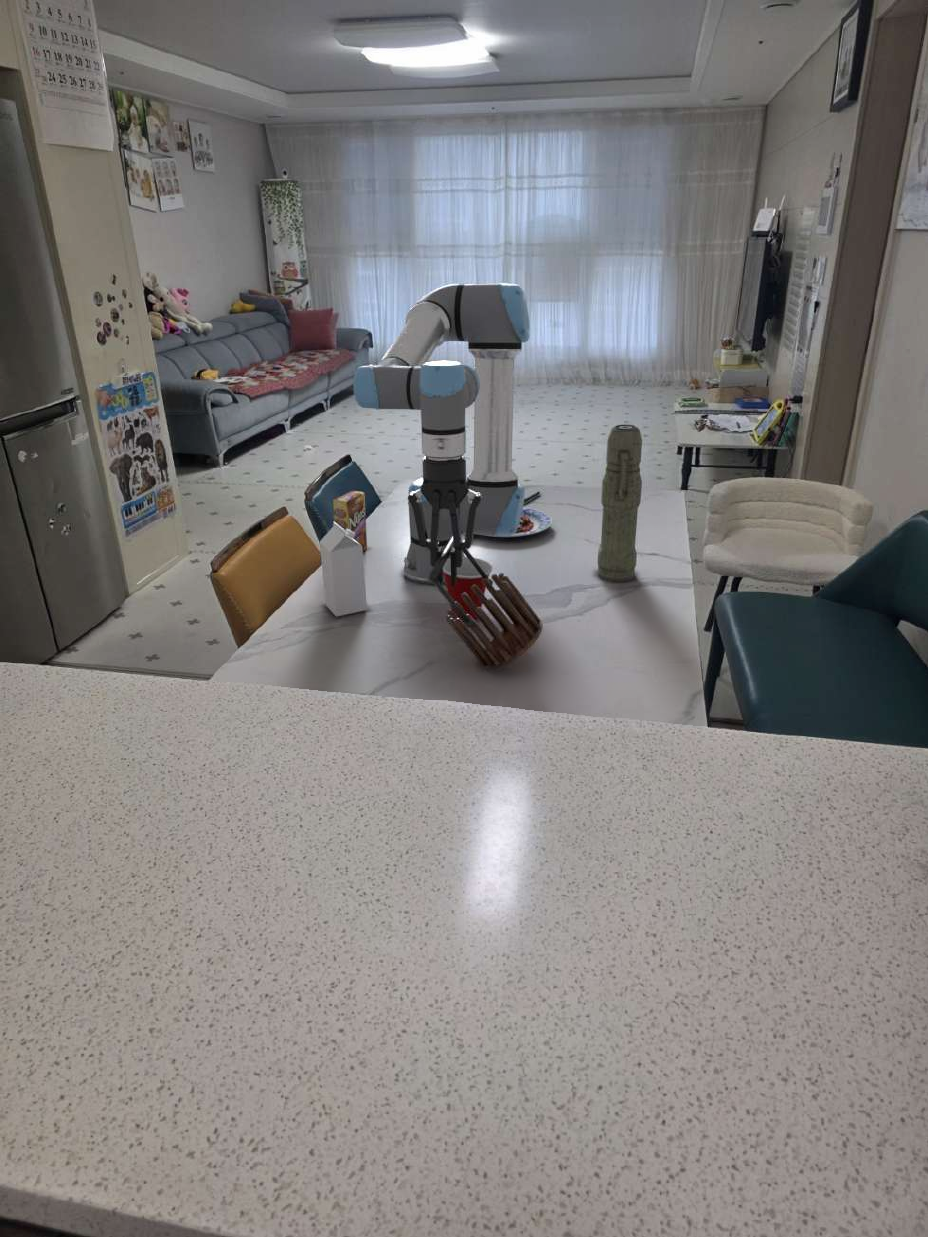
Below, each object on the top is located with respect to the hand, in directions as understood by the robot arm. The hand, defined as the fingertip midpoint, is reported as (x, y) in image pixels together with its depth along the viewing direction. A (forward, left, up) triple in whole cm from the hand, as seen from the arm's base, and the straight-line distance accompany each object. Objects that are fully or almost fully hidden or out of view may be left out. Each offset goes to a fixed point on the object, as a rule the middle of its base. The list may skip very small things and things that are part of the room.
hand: (447, 582), depth 151 cm
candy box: (-57, -32, -16) cm, 67 cm away
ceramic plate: (-78, +7, -16) cm, 80 cm away
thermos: (-45, +35, -16) cm, 59 cm away
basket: (-1, 0, -7) cm, 7 cm away
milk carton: (-22, -25, -16) cm, 37 cm away
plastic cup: (-19, +2, -16) cm, 25 cm away
